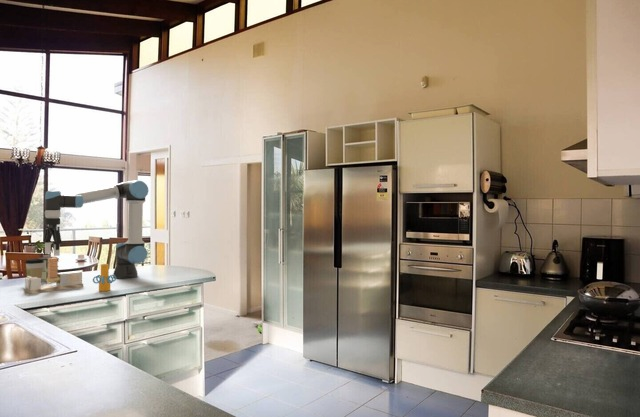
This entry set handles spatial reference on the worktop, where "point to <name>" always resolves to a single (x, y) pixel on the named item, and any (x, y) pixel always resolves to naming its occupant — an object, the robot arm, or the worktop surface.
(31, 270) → the olive storage canister
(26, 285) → the end socket
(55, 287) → the birch board
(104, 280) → the orange post with rings
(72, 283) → the pale grey block
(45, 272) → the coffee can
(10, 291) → the worktop surface
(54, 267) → the pink l-shaped block
